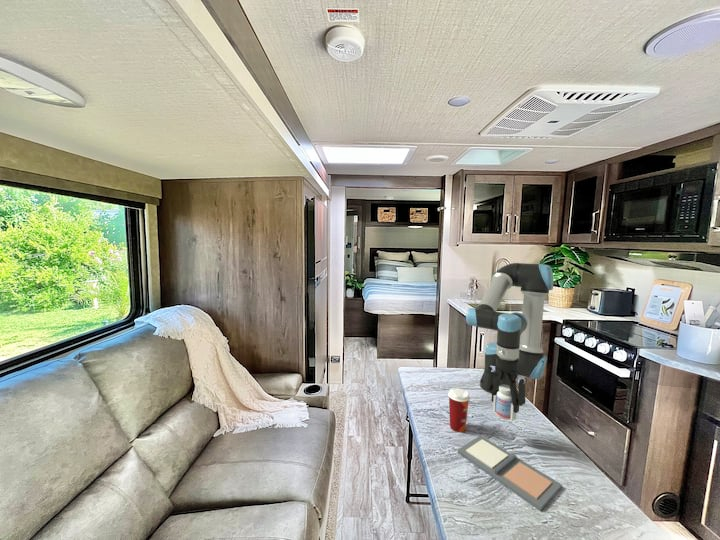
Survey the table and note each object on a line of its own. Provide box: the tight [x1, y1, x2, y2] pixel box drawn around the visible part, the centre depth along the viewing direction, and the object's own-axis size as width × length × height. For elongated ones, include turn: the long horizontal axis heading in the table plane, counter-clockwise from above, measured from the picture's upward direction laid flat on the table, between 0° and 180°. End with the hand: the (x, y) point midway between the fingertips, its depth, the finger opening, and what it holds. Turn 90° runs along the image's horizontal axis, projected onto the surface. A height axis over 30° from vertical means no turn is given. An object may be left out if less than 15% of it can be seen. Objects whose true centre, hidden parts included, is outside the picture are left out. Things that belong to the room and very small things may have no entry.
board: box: [457, 435, 563, 512], centre depth 100 cm, size 14×28×2 cm, turn 35°
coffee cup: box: [447, 387, 471, 433], centre depth 120 cm, size 8×8×15 cm
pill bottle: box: [495, 385, 513, 421], centre depth 112 cm, size 6×6×11 cm
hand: (504, 414), depth 112 cm, fingers closed on pill bottle, 6 cm apart
